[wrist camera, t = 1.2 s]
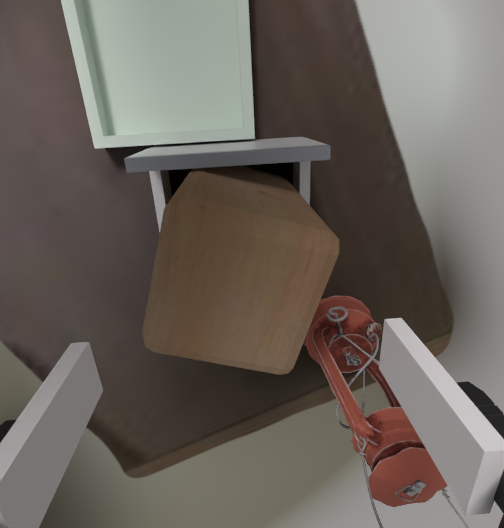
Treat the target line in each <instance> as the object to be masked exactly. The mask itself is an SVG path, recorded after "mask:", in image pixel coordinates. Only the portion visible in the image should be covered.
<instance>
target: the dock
mask: <svg viewBox="0 0 504 528" xmlns="http://www.w3.org/2000/svg"><path fill="white" fill-rule="evenodd" d="M330 148H331V146H330V145H327V144H324V143H321V142H318V141H315V140H311V139H308V138H305V137H288V138H272V139H256V140H240V141H224V142H207V143H191V144H175V145H159V146H153V147H150V148H148V149H145V150H143V151H141V152H138V153H136V154H133V155H131V156H129V157H126V158H124V162H125V167H126V172H127V173H129V172H145V171H149V173H150V179H151V185H152V191H153V197H154V202H155V208H156V214H157V220H158V226H159V232H160V229H161V223H162V218H163V212H164V208H165V207H166V205H167V204H168V203H169V201H170V200H171V198H172V192H171V186H170V179H169V172H168V170H176V169H192V168H208V167H223V166H239V165H255V164H270V163H286V162H293V187H294V188H295V189H296V190H297V191H298V192H299V194H300V195H301V196H302V197H303V198H304V199H305V201H306V202H307V203H308V204H309V205H310V161H318V160H330Z"/></svg>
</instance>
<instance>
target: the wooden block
mask: <svg viewBox="0 0 504 528" xmlns="http://www.w3.org/2000/svg"><path fill="white" fill-rule="evenodd" d="M338 255H339V239H338V238H337V237H336V235H335V234H334V233H333V232H332V231H331V230H330V228H329V227H328V226H327V225H326V224H325V223H324V221H323V220H322V219H321V218H320V217H319V216H318V214H317V213H316V212H315V211H314V210H313V209H312V208H311V206H310V205H309V204H308V203H307V202H306V201H305V199H304V198H303V197H302V196H301V195H300V194H299V192H298V191H297V190H296V189H295V188H294V187H293V185H292V184H291V183H290V182H289V181H288V180H287V179H285V178H284V177H281V176H277V175H274V174H270V173H267V172H263V171H259V170H256V169H252V168H248V167H245V166H241V165H239V166H223V167H208V168H192V170H191V171H190V173H189V174H188V175H187V177H186V178H185V180H184V181H183V183H182V184H181V185H180V187H179V188H178V190H177V191H176V192H175V194H174V195H173V197H172V198H171V200H170V201H169V203H168V204H167V205H166V207H165V208H164V212H163V218H162V223H161V229H160V234H159V240H158V246H157V251H156V257H155V262H154V268H153V274H152V279H151V285H150V290H149V296H148V302H147V307H146V313H145V318H144V324H143V330H142V335H143V338H144V343H145V347H146V348H147V349H149V350H151V351H153V352H156V353H161V354H167V355H172V356H178V357H184V358H189V359H195V360H200V361H206V362H211V363H217V364H222V365H228V366H234V367H239V368H245V369H250V370H256V371H261V372H267V373H272V374H278V375H281V374H287V373H289V372H290V371H291V370H292V369H293V368H294V365H295V363H296V360H297V358H298V355H299V353H300V350H301V347H302V345H303V342H304V340H305V337H306V335H307V332H308V330H309V327H310V325H311V322H312V320H313V317H314V315H315V312H316V310H317V307H318V305H319V302H320V300H321V297H322V295H323V292H324V290H325V287H326V285H327V282H328V280H329V277H330V275H331V272H332V270H333V267H334V265H335V262H336V260H337V257H338Z"/></svg>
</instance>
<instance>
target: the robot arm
mask: <svg viewBox="0 0 504 528" xmlns="http://www.w3.org/2000/svg"><path fill="white" fill-rule="evenodd" d="M379 369H380V371H381V373H382V374H383V376H384V378H385V379H386V381H387V383H388V385H389V386H390V388H391V390H392V391H393V393H394V395H395V397H396V398H397V400H398V402H399V403H400V405H401V407H402V408H403V410H404V412H405V414H406V415H407V417H408V419H409V420H410V422H411V424H412V426H413V427H414V429H415V431H416V432H417V434H418V436H419V438H420V439H421V441H422V443H423V444H424V446H425V448H426V449H427V451H428V453H429V455H430V456H431V458H432V460H433V461H434V463H435V465H436V467H437V468H438V470H439V472H440V473H441V475H442V477H443V479H444V480H445V482H446V484H447V485H448V487H449V488H450V490H451V492H452V494H453V496H454V497H455V499H456V501H457V502H458V504H459V506H460V507H461V509H462V511H463V513H464V514H465V515H475V514H485V513H490V511H491V508H492V506H493V503H494V500H495V502H496V503H497V505H498V506H499V507H500V509H501V510H502V512H503V513H504V415H503V413H502V411H501V410H500V409H499V408H498V407H497V406H495V405H494V403H493V402H492V400H491V399H490V398H489V397H488V396H487V395H486V394H485V393H484V392H483V391H482V390H480V389H479V388H477V387H475V386H474V385H473V384H471V383H470V382H459V383H456V382H455V381H454V380H453V379H452V377H451V376H450V375H449V374H448V373H447V372H446V370H445V369H444V368H443V367H442V365H441V364H440V363H439V362H438V361H437V360H436V358H435V357H434V356H433V355H432V354H431V352H430V351H429V350H428V349H427V348H426V346H425V345H424V344H423V343H422V342H421V341H420V339H419V338H418V337H417V336H416V335H415V333H414V332H413V331H412V330H411V329H410V328H409V326H408V325H407V324H406V323H405V322H404V320H403V319H402V318H393V319H385V320H384V328H383V337H382V345H381V354H380V363H379ZM102 392H103V388H102V385H101V381H100V378H99V375H98V371H97V368H96V364H95V361H94V358H93V354H92V351H91V347H90V344H89V342H81V343H71V344H70V346H69V347H68V348H67V350H66V351H65V353H64V354H63V355H62V357H61V358H60V360H59V361H58V363H57V364H56V365H55V367H54V368H53V370H52V371H51V372H50V374H49V375H48V377H47V378H46V379H45V381H44V382H43V384H42V385H41V387H40V388H39V389H38V391H37V392H36V394H35V395H34V396H33V398H32V399H31V401H30V402H29V403H28V405H27V406H26V408H25V409H24V411H23V412H22V413H21V415H20V416H19V418H18V419H17V420H9V421H5V422H4V423H3V424H2V425H0V528H39V526H40V523H41V521H42V519H43V517H44V515H45V513H46V511H47V509H48V507H49V504H50V502H51V500H52V498H53V496H54V494H55V492H56V489H57V487H58V485H59V483H60V481H61V479H62V476H63V475H64V473H65V470H66V468H67V466H68V464H69V462H70V460H71V457H72V456H73V453H74V451H75V449H76V447H77V445H78V443H79V440H80V438H81V436H82V434H83V432H84V430H85V428H86V426H87V424H88V421H89V419H90V417H91V415H92V413H93V411H94V409H95V407H96V404H97V402H98V400H99V398H100V396H101V394H102ZM498 528H504V514H503V517H502V520H501V522H500V525H499V527H498Z"/></svg>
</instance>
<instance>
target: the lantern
mask: <svg viewBox="0 0 504 528" xmlns="http://www.w3.org/2000/svg"><path fill="white" fill-rule="evenodd" d="M381 335H382V327H381V325H380V324H378V323H375V322H374V320H373V319H372V317H371V314H370V310H369V309H368V308H367V307H366V306H365V305H364V304H363V303H362V302H361V301H359V300H357V299H355V298H352V297H350V296H331V297H328V298H325V299H322V300H320V302H319V305H318V307H317V310H316V312H315V315H314V317H313V320H312V322H311V325H310V327H309V330H308V332H307V335H306V337H305V340H304V342H303V344H304V345H305V346H306V347H307V350H308V352H309V355H310V357H311V358H312V359H314V360H315V361H316V362H317V363H318V364H320V365H321V367H322V369H323V371H324V373H325V375H326V377H327V380H328V382H329V384H330V387H331V390H332V392H333V393H334V395H335V397H336V399H337V401H338V404H337V407H336V415H337V416H336V417H337V420H338V422H339V423H340V425H341V426H342V427H344V428H346V429H351V430H352V432H353V436H352V443H353V446H354V449H355V451H357V452H358V453H359V454H360V455H361V456H362V461H363V466H364V472H365V477H366V481H367V487H368V491H369V495H370V499H371V503H372V506H373V509H374V512H375V515H376V517H377V520H378V523H379V525H380V528H383V526H382V524H381V522H380V519H379V516H378V514H377V511H376V508H375V505H374V502H373V498H374V499H375V500H378V501H381V502H382V503H384V504H386V505H389V506H392V507H396V506H401V505H406V504H411V503H421V502H426V501H427V500H429V499H431V498H432V497H433V496H434V494H435V493H436V492H437V491H439V490H442V491H443V492H442V494H443V495H444V496H445V497H446V499H447V500H448V502H449V504H450V505H451V506H452V508H453V509H454V511H455V512H456V513H457V514H458V516H459V517H460V519H461V520H462V521H463V523H464V524H465V526H466V527H467V528H469V527H468V526H467V524H466V523H465V521H464V520H463V518H462V517H461V516H460V514H459V513H458V512H457V510H456V509H455V508H454V507H453V505H452V503H451V502H450V500H449V499H448V498H450V497H449V496H447V494H446V492H447V490H444V488H445V487H446V486H448V485H447V484H446V482H445V480H444V479H443V477H442V475H441V473H440V472H439V470H438V468H437V467H436V465H435V463H434V461H433V460H432V458H431V456H430V455H429V453H428V451H427V449H426V448H425V446H424V444H423V443H422V441H421V439H420V438H419V436H418V434H417V432H416V431H415V429H414V427H413V426H412V424H411V422H410V420H409V419H408V417H407V415H406V414H405V412H404V410H403V408H402V407H401V405H400V403H399V402H398V400H397V398H396V397H395V395H394V393H393V391H392V390H391V388H390V386H389V385H388V383H387V381H386V379H385V378H384V376H383V374H382V373H381V371H380V369H379V363H380V362H379V361H377V360H376V359H374V357H375V356H376V353H377V351H378V345H379V339H380V337H381ZM376 343H377V347H376V350H375V352H374V354H373V356H372V352H373V349H374V348H375V346H376ZM365 369H366V370H367V371H368V372H369V373H370V374H371V376H372V377H373V378H374V379H375V380H376V382H377V383H378V384H379V386H380V387H381V389H382V391H383V392H384V394H385V396H386V398H387V400H388V402H389V404H390V406H391V407H388V408H385V409H381V410H378V411H375V412H373V413H371V414H370V415H368V416H367V417H364V415H363V414H364V403H365ZM357 370H359V371H358V372H357V373H356V375H355V376H354V377H353V378H352V379H351V381H350V382H349V383H348V385H347V383H346V381H345V379H344V378H343V376H342V374H341V373H351V372H354V371H357ZM362 371H363V407H362V411H361V410H360V408H359V406H358V404H357V402H356V400H355V398H354V396H353V394H352V393H351V391H350V389H349V387H350V385H351V384H352V383H353V381H354V380H355V379H356V378H357V377H358V376H359V374H360V373H361V372H362ZM339 405H340V407H341V409H342V411H343V413H344V415H345V417H346V420H347V422H348V424H349V426H345V425H343V424H342V423H341V422H340V420H339V419H338V408H339ZM364 457H365V459H366V461H367V464H368V465H369V466H370V468H371V471H372V474H371V475H370V477H369V478H368V476H367V471H366V466H365V461H364ZM372 497H373V498H372Z"/></svg>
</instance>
